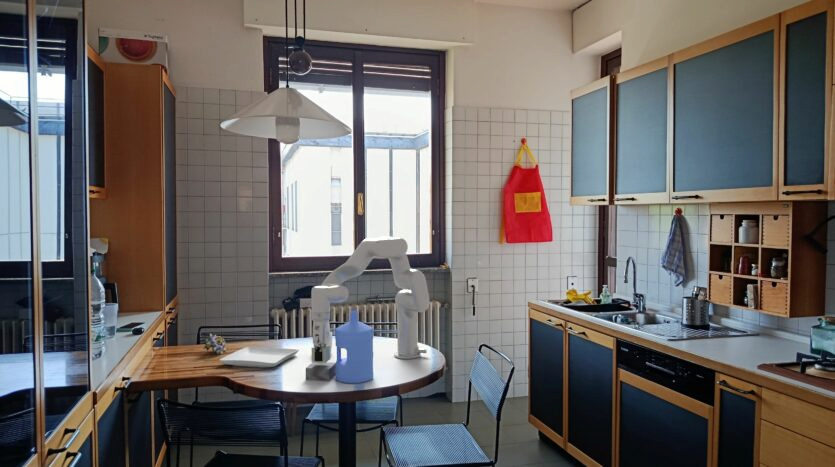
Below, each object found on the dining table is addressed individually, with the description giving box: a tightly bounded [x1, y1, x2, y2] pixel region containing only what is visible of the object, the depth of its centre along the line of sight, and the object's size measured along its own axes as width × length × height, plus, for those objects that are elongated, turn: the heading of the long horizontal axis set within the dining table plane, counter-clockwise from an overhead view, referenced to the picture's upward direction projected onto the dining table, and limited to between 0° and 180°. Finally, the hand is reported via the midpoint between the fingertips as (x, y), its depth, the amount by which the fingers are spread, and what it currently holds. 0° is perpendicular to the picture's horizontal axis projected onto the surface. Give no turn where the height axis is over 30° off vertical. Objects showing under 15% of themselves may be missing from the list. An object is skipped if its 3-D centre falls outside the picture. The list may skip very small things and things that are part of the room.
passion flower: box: [202, 333, 227, 355], centre depth 286 cm, size 11×11×12 cm
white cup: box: [318, 331, 333, 355], centre depth 286 cm, size 8×8×10 cm
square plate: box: [219, 346, 300, 369], centre depth 272 cm, size 27×27×4 cm
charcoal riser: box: [305, 361, 336, 382], centre depth 245 cm, size 10×10×5 cm
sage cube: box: [311, 345, 331, 363], centre depth 245 cm, size 6×6×6 cm
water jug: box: [334, 310, 374, 384], centre depth 243 cm, size 16×16×28 cm
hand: (321, 358), depth 245 cm, fingers closed on sage cube, 6 cm apart
